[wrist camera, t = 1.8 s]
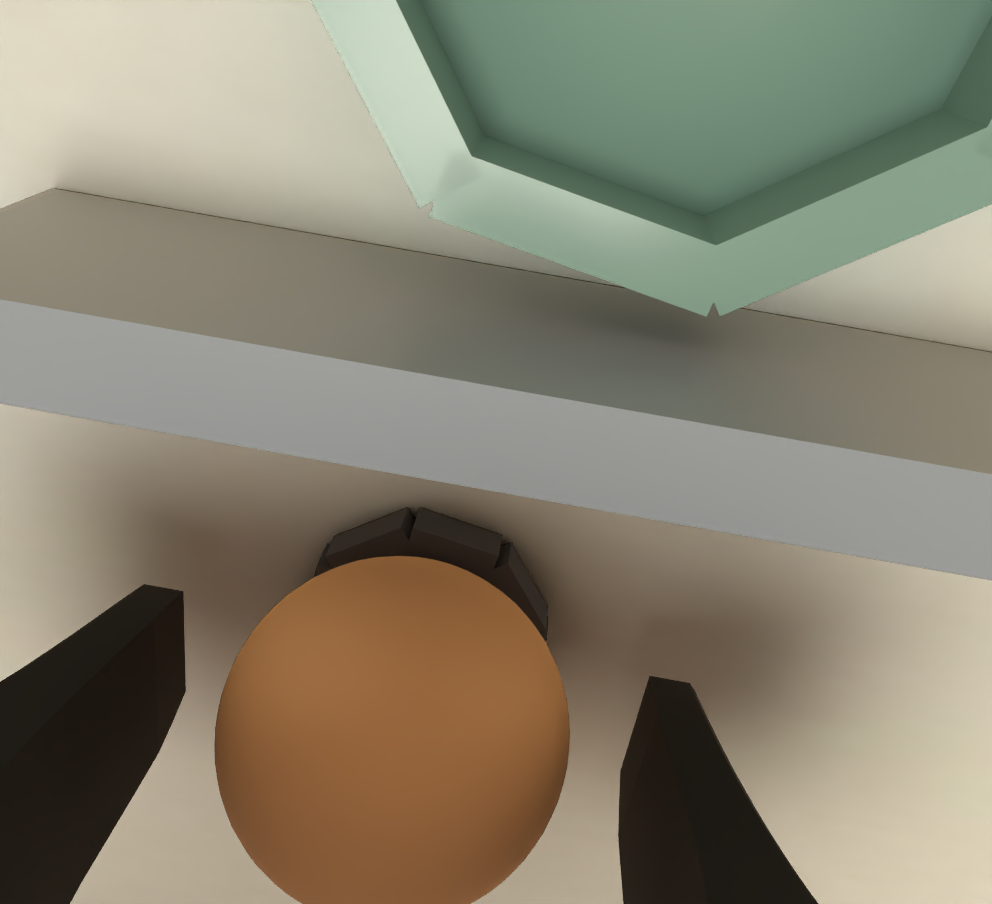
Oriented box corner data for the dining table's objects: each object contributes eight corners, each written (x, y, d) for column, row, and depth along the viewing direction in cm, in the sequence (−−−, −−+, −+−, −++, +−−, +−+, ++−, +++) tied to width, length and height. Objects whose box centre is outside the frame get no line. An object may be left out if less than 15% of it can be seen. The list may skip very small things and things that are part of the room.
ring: (578, 660, 16) (577, 684, 15) (385, 721, 17) (378, 745, 16) (476, 480, 14) (471, 500, 14) (272, 560, 15) (260, 581, 15)
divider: (1048, 362, 12) (1228, 516, 9) (1011, 438, 13) (1167, 611, 9) (51, 187, 13) (-158, 272, 9) (59, 270, 13) (-137, 380, 10)
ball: (620, 685, 15) (631, 968, 11) (371, 760, 17) (293, 1036, 12) (490, 447, 14) (440, 674, 9) (222, 555, 15) (67, 796, 11)
